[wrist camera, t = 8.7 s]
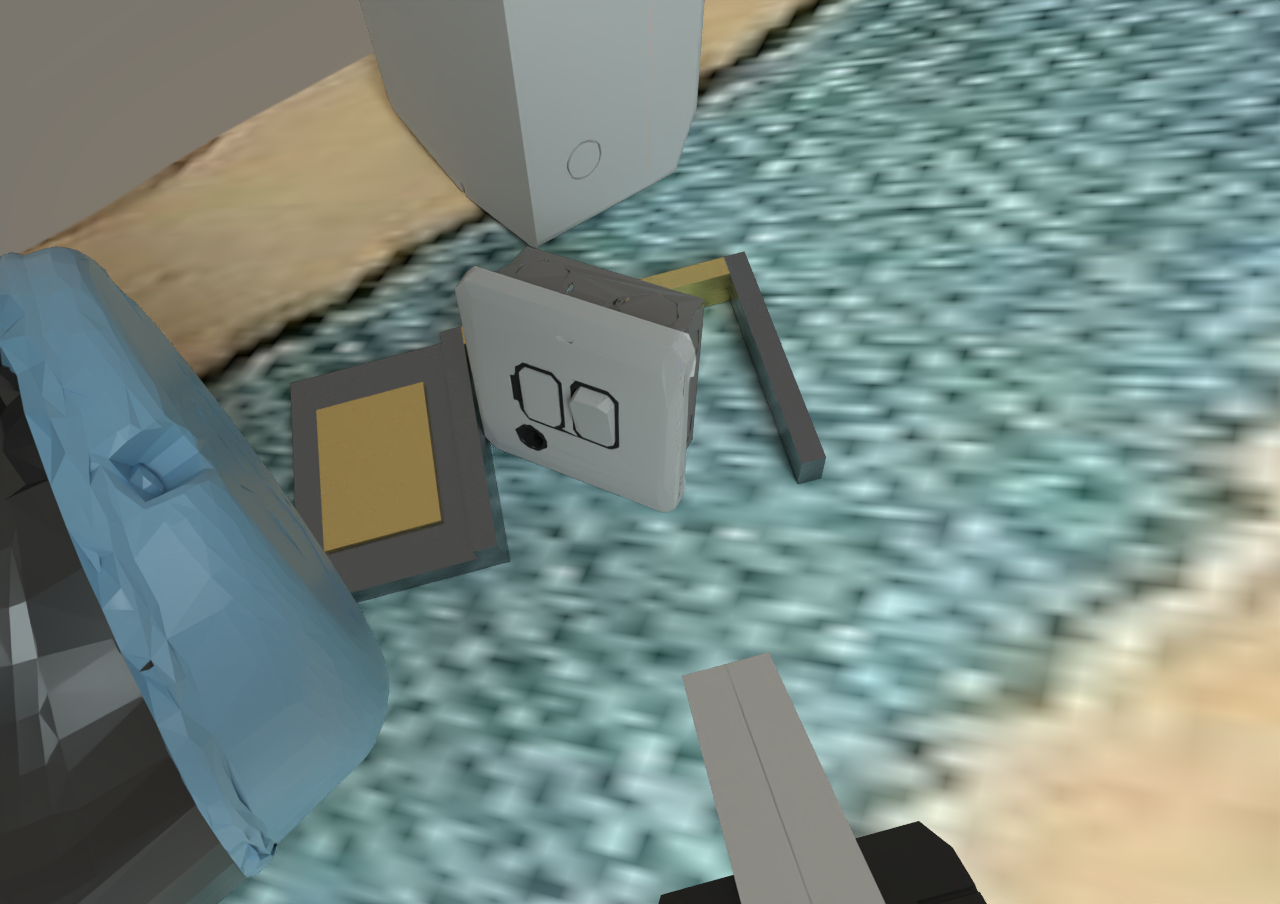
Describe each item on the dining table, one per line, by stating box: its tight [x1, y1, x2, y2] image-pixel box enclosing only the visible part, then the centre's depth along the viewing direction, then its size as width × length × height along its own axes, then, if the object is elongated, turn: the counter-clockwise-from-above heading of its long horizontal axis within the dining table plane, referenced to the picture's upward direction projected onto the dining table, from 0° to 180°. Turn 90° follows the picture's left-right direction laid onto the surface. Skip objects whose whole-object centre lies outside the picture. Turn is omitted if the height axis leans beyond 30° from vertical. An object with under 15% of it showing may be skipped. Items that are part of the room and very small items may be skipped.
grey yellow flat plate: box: [290, 252, 826, 603], centre depth 34 cm, size 22×11×2 cm, turn 104°
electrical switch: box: [455, 246, 705, 513], centre depth 31 cm, size 9×5×9 cm, turn 65°
